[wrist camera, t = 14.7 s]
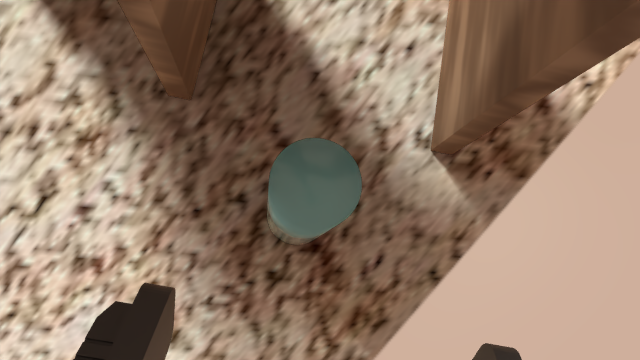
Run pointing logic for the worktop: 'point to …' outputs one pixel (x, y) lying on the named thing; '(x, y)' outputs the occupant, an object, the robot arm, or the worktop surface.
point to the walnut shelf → (458, 53)
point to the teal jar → (311, 190)
